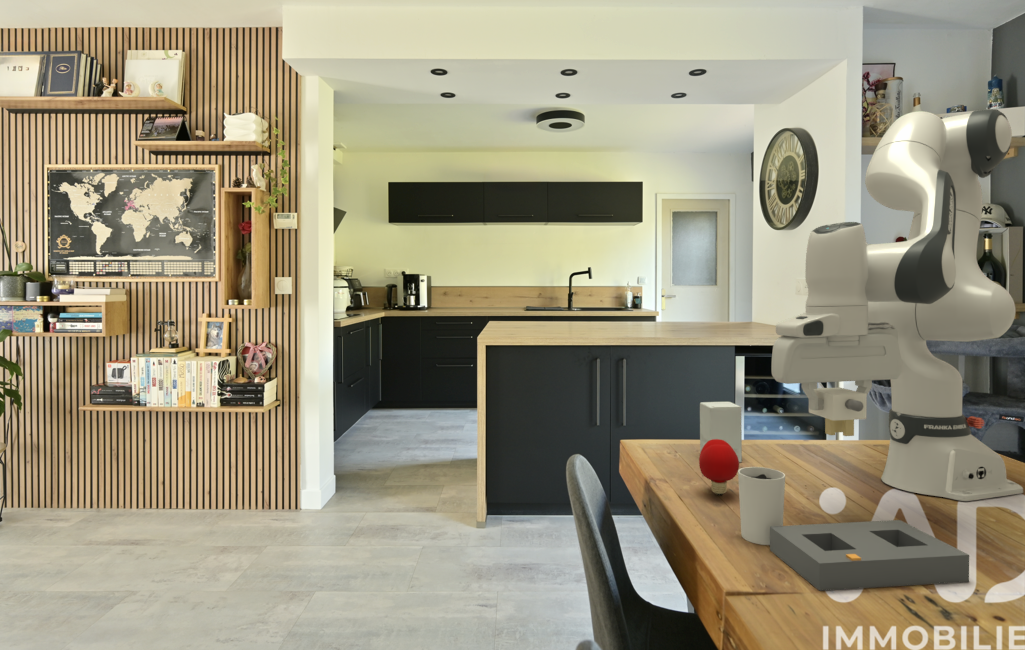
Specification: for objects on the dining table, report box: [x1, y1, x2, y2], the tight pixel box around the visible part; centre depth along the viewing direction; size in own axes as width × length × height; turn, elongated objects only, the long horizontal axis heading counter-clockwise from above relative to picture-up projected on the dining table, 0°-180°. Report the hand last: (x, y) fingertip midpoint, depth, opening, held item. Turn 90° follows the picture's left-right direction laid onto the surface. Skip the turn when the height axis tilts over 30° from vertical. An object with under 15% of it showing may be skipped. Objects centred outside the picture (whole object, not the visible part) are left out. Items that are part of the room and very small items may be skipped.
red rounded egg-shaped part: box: [698, 439, 740, 496], centre depth 109 cm, size 9×7×10 cm
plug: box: [808, 387, 868, 437], centre depth 93 cm, size 6×8×7 cm, turn 5°
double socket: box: [769, 519, 970, 591], centre depth 80 cm, size 20×12×4 cm, turn 94°
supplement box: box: [699, 401, 743, 463], centre depth 133 cm, size 7×7×13 cm
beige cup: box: [737, 466, 786, 546], centre depth 89 cm, size 7×7×10 cm
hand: (836, 408), depth 94 cm, fingers closed on plug, 5 cm apart
